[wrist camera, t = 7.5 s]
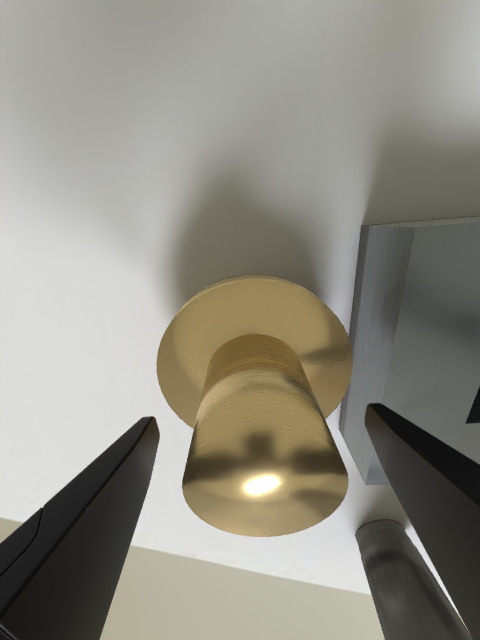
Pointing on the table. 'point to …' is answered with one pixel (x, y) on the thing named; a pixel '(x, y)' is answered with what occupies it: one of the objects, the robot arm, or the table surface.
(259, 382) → the end cover
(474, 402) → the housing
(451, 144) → the table surface
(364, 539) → the beverage cup
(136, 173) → the table surface
